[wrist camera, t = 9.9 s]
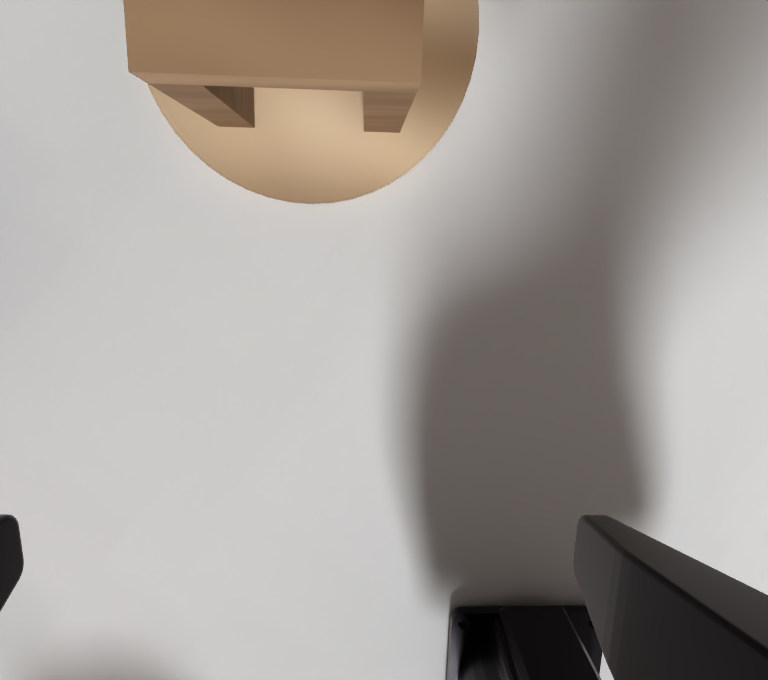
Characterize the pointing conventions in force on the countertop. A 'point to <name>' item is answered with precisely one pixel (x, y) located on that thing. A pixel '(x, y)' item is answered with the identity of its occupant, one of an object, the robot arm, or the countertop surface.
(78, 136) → the countertop surface
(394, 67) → the tan block with prongs
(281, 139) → the trivet
